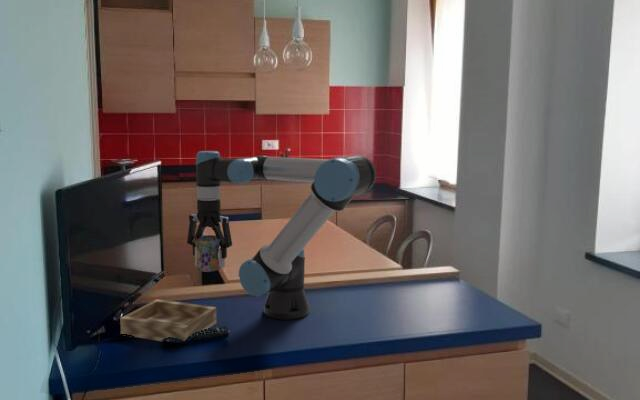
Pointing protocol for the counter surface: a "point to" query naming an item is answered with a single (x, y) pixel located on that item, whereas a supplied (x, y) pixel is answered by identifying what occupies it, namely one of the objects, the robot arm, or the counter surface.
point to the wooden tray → (167, 320)
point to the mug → (207, 253)
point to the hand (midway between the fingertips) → (209, 266)
